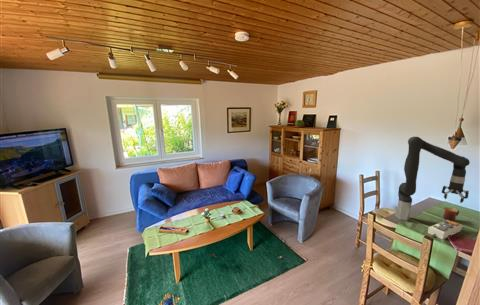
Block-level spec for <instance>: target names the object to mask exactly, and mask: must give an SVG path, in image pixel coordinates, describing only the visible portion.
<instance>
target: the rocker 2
mask: <svg viewBox="0 0 480 305" xmlns="http://www.w3.org/2000/svg"><path fill="white" fill-rule="evenodd" d="M449 223H451V224H454V225H459V224H460V223H459V222H457V221H449Z"/></svg>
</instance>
